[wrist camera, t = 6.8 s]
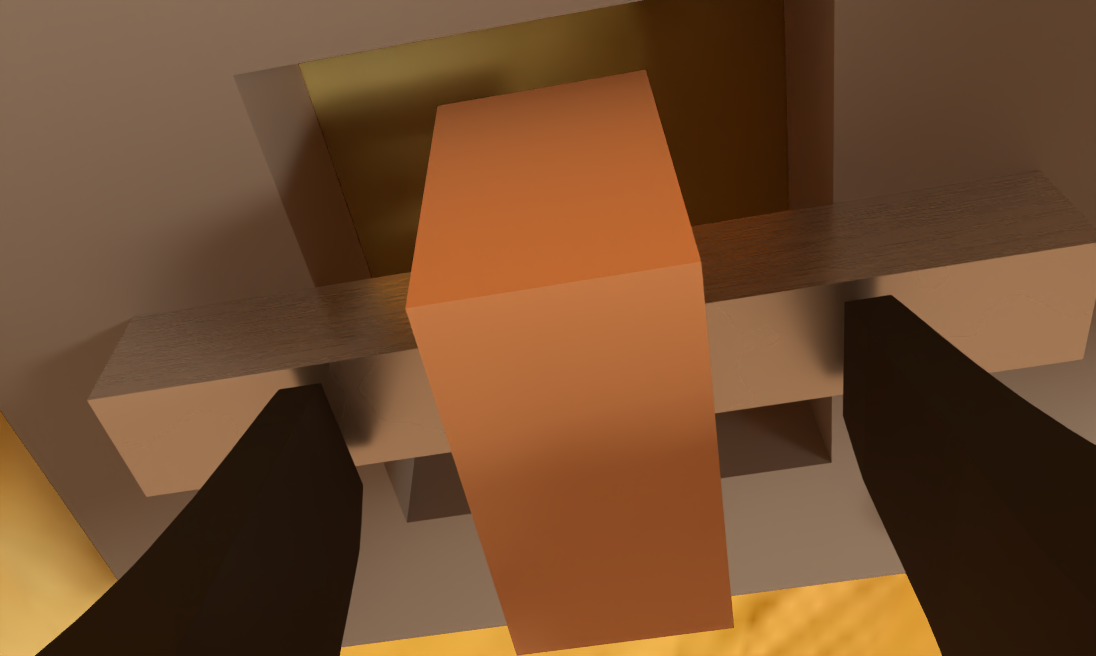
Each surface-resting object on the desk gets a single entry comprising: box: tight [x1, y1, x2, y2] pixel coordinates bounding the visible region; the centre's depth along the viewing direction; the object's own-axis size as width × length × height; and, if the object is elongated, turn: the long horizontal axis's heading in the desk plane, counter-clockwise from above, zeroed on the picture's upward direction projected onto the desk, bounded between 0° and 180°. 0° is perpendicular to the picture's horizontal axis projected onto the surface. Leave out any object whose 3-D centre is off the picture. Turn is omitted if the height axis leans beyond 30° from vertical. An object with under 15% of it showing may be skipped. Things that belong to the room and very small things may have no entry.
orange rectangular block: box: [405, 70, 734, 655], centre depth 13 cm, size 3×6×5 cm, turn 10°
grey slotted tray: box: [0, 0, 1096, 647], centre depth 16 cm, size 20×16×5 cm
